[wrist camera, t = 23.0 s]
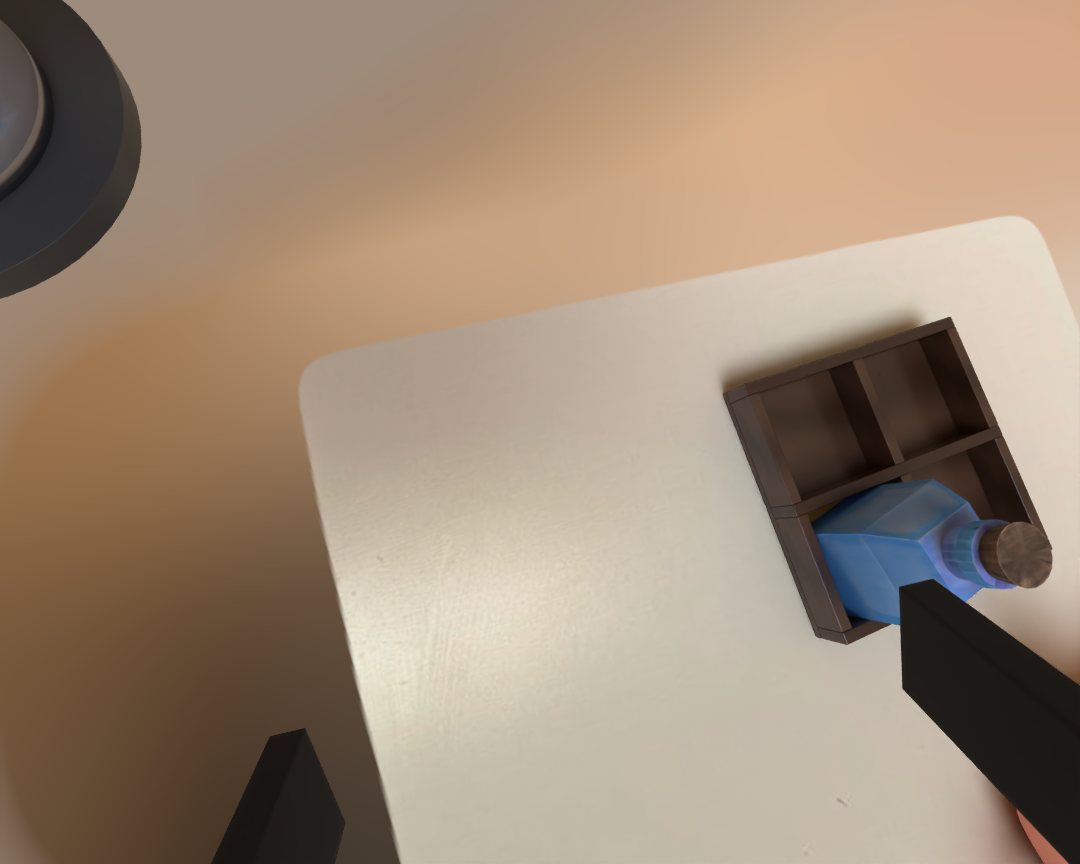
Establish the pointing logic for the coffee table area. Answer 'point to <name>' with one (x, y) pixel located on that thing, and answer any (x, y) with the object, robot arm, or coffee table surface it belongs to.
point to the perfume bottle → (922, 547)
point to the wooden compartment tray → (872, 446)
